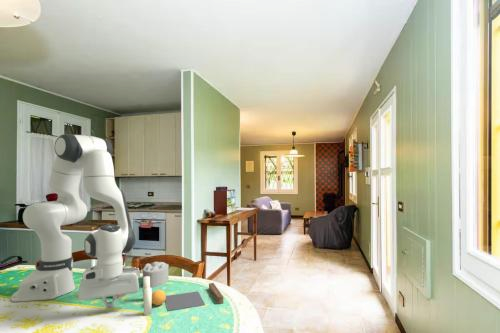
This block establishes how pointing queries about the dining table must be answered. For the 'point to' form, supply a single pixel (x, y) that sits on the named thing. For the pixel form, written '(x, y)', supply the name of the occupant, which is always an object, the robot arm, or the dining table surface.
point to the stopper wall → (216, 293)
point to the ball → (158, 297)
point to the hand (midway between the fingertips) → (109, 307)
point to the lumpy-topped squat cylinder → (156, 273)
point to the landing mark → (183, 301)
